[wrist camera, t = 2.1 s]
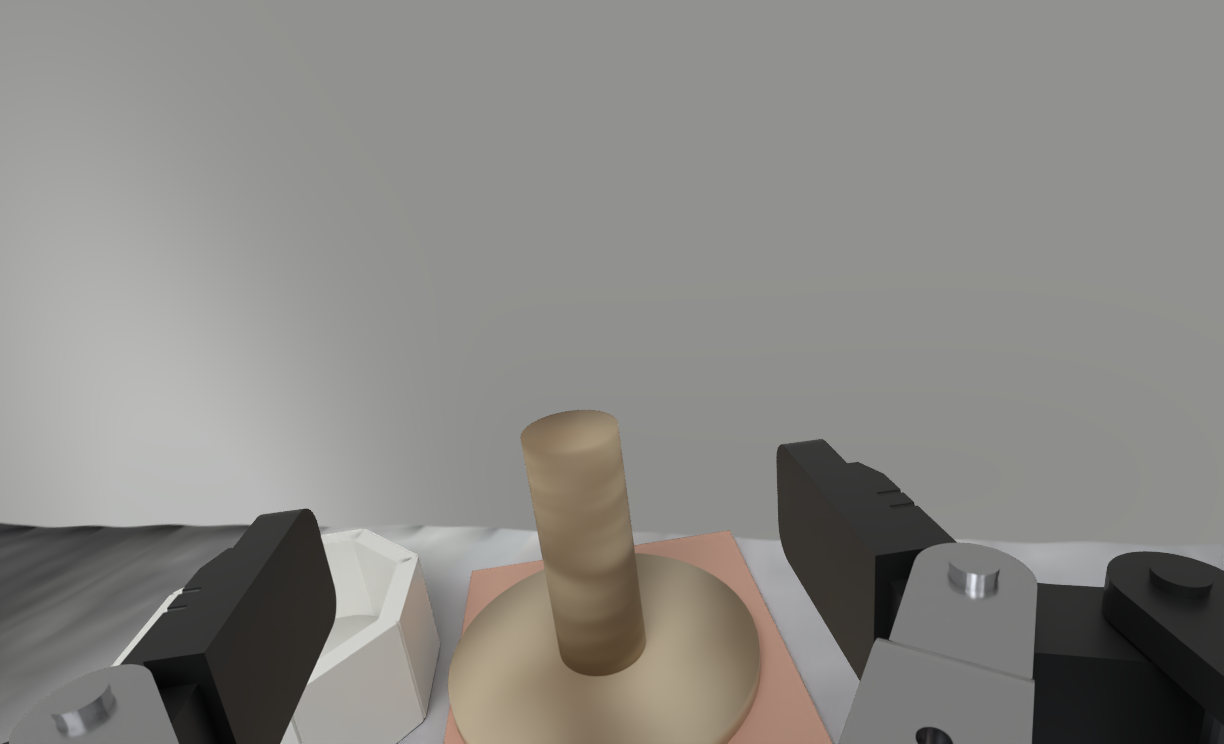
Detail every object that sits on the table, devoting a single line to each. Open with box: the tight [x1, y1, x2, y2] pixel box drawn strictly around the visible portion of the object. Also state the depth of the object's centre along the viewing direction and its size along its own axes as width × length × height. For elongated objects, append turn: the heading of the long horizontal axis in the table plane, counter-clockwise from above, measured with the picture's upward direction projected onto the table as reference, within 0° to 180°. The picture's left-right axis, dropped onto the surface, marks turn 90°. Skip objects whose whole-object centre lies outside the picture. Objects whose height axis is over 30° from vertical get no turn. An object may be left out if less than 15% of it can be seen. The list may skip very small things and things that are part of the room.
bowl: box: [112, 529, 440, 744], centre depth 27 cm, size 10×10×4 cm
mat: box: [444, 530, 833, 744], centre depth 27 cm, size 13×14×1 cm
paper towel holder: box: [448, 410, 761, 744], centre depth 25 cm, size 12×12×10 cm
